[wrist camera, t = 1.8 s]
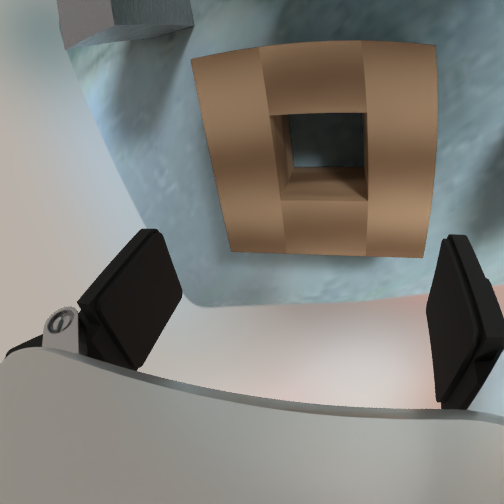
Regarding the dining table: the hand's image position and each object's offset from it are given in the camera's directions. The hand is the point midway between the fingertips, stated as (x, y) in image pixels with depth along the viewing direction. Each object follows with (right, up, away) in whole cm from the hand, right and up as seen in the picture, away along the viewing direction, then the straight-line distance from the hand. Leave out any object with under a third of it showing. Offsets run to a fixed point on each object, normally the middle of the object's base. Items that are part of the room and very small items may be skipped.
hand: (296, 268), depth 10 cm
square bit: (-8, +20, +9) cm, 23 cm away
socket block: (+4, +10, +13) cm, 16 cm away
